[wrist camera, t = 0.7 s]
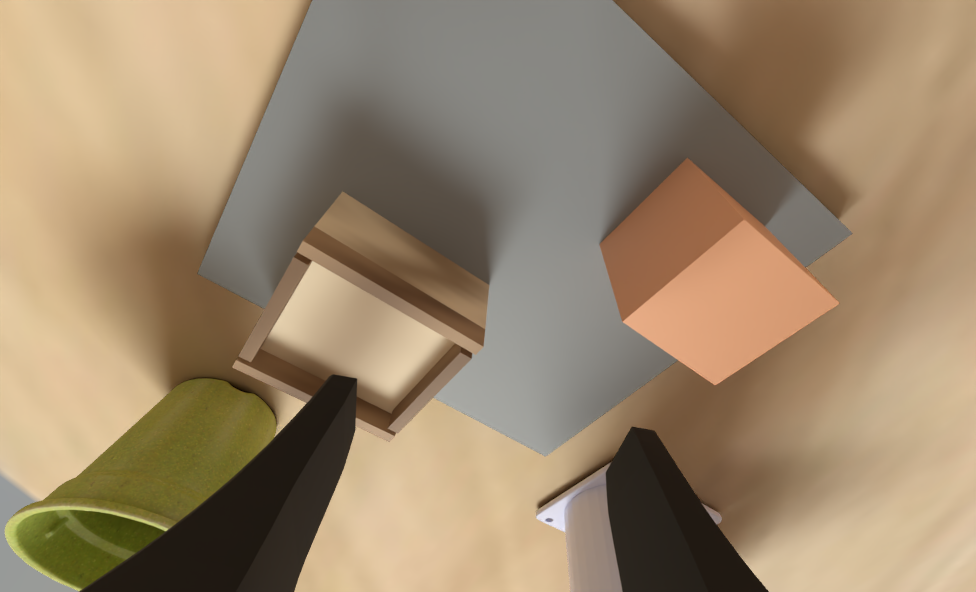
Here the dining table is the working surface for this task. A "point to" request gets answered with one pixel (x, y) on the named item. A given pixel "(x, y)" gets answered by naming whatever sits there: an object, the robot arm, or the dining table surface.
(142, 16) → the dining table surface
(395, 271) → the birch socket block
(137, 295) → the dining table surface
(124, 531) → the plant pot
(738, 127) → the grey board
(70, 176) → the dining table surface
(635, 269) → the terracotta block
